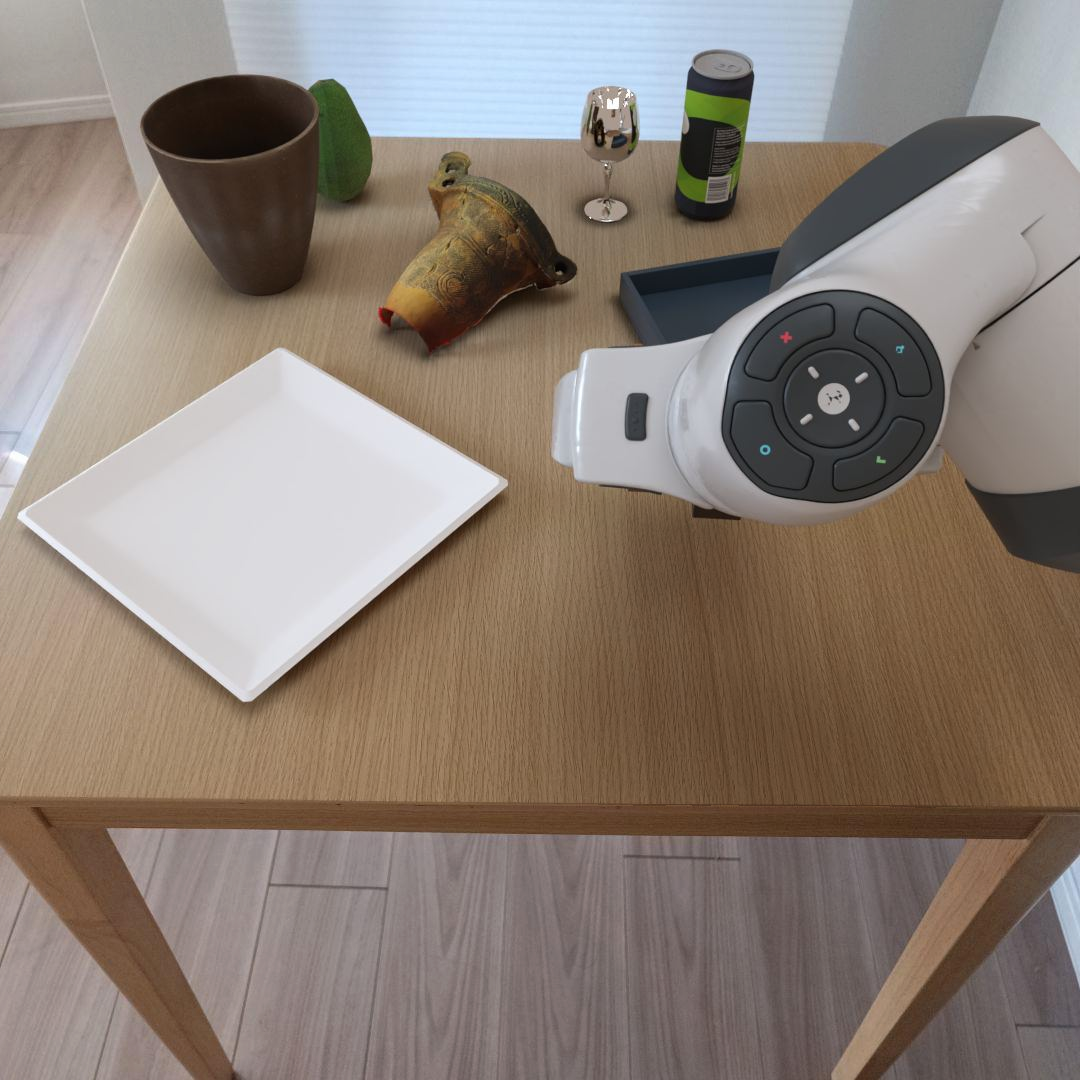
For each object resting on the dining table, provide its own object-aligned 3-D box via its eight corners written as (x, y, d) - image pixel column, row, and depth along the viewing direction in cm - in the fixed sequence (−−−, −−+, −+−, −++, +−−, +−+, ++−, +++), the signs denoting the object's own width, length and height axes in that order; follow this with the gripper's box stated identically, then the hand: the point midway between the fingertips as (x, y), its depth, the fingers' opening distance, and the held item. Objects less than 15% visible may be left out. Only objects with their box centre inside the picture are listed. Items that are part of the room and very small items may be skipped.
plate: (511, 499, 85) (511, 480, 84) (252, 720, 72) (246, 702, 70) (284, 362, 96) (280, 343, 95) (22, 532, 83) (13, 513, 81)
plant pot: (331, 322, 100) (304, 160, 88) (168, 321, 100) (119, 159, 88) (351, 231, 110) (329, 74, 98) (203, 230, 110) (162, 73, 98)
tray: (807, 268, 106) (812, 241, 104) (875, 357, 97) (883, 330, 95) (618, 299, 102) (620, 272, 100) (671, 396, 93) (674, 368, 91)
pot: (315, 239, 93) (452, 103, 97) (331, 303, 104) (454, 177, 108) (472, 361, 91) (605, 215, 95) (472, 413, 102) (591, 280, 106)
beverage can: (742, 198, 114) (764, 55, 103) (723, 228, 111) (744, 83, 99) (685, 185, 116) (701, 42, 105) (665, 214, 112) (679, 69, 101)
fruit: (303, 221, 111) (283, 107, 102) (296, 181, 116) (276, 69, 107) (382, 211, 112) (369, 98, 103) (372, 172, 118) (358, 61, 109)
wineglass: (587, 229, 110) (591, 115, 101) (570, 199, 114) (573, 87, 105) (641, 221, 111) (650, 107, 102) (623, 192, 115) (630, 80, 106)
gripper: (993, 367, 50) (907, 392, 64) (548, 346, 51) (559, 375, 65) (982, 504, 51) (900, 499, 65) (541, 481, 52) (553, 481, 66)
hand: (725, 437), depth 65 cm, fingers closed on pan, 3 cm apart
